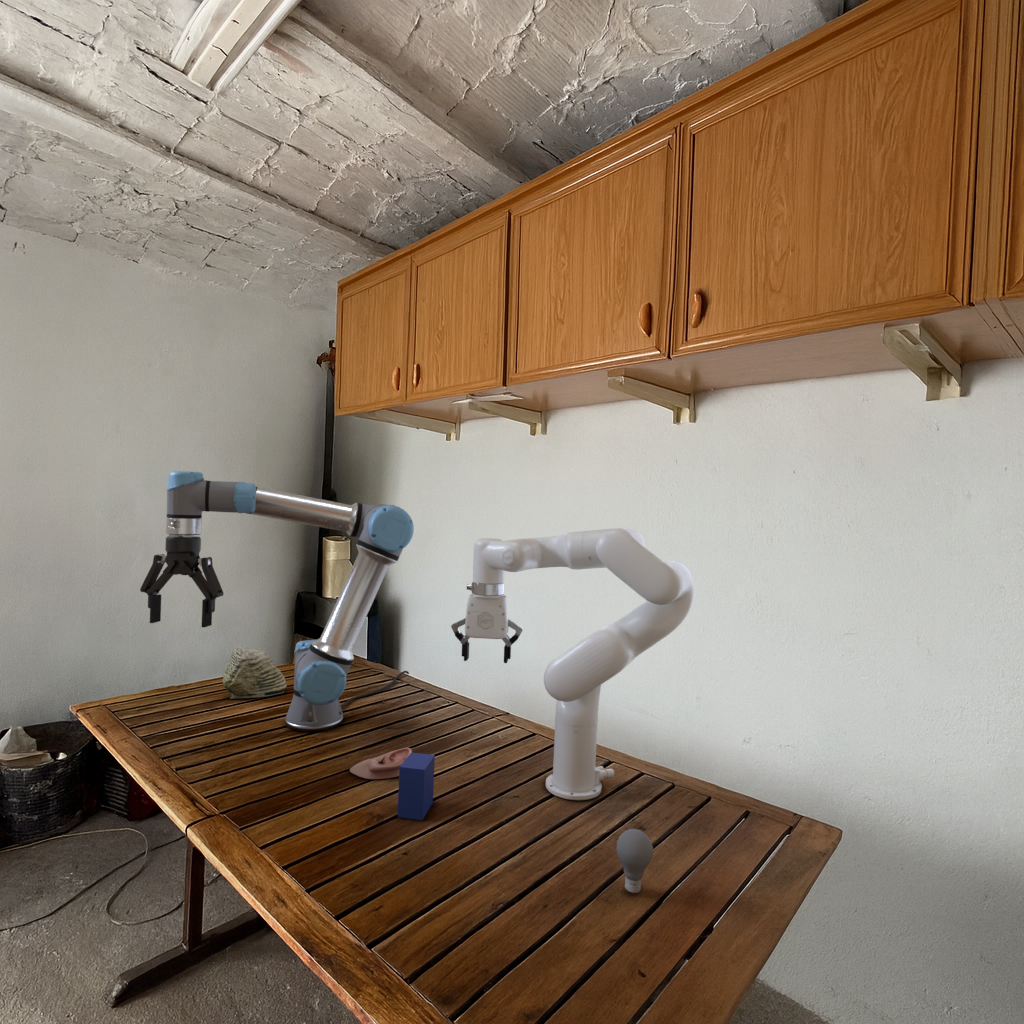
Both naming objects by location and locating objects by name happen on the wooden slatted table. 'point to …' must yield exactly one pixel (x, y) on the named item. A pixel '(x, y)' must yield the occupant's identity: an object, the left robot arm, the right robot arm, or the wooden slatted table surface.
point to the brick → (416, 786)
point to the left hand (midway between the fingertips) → (180, 624)
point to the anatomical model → (382, 765)
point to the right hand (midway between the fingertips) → (486, 660)
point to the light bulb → (634, 857)
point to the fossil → (252, 674)
